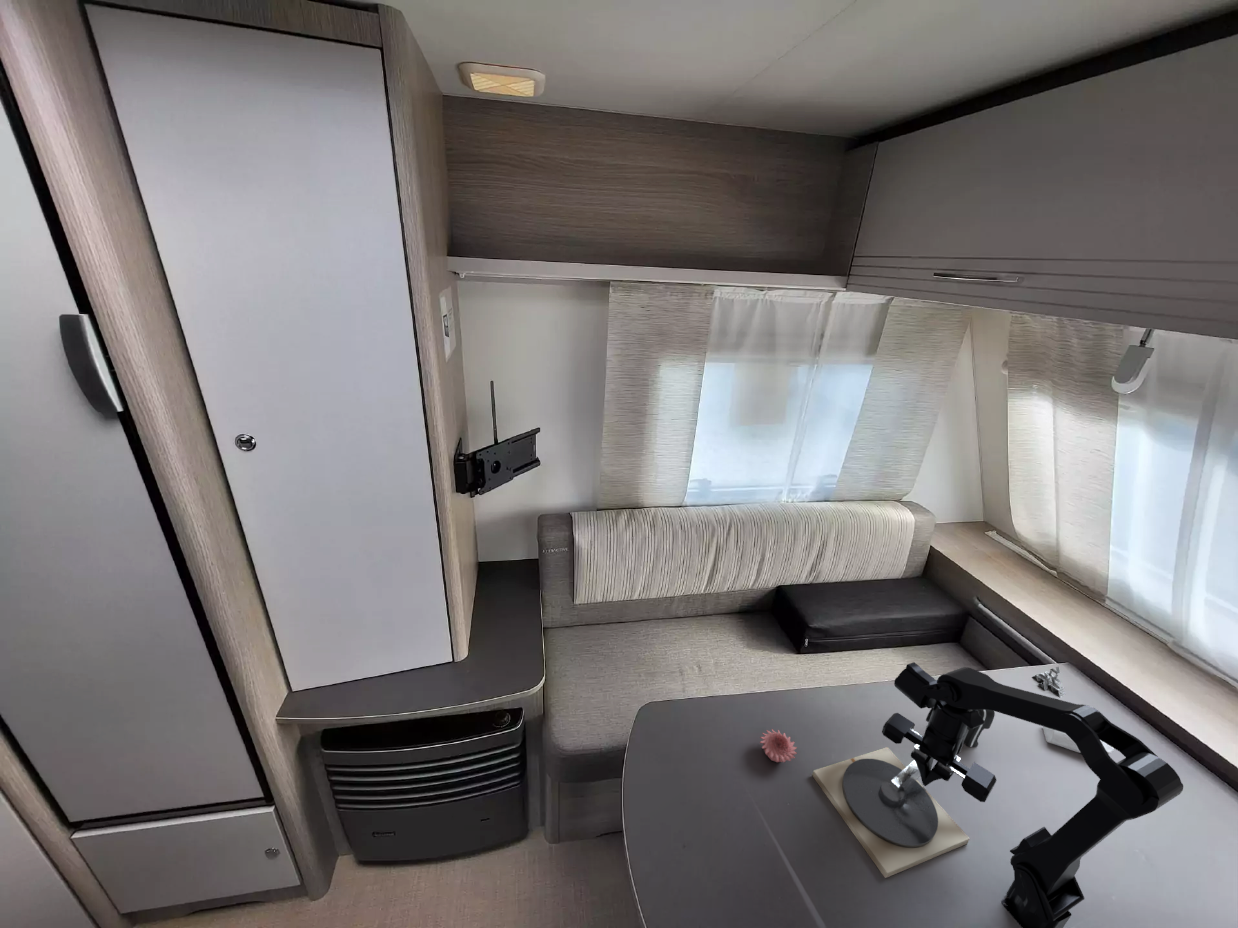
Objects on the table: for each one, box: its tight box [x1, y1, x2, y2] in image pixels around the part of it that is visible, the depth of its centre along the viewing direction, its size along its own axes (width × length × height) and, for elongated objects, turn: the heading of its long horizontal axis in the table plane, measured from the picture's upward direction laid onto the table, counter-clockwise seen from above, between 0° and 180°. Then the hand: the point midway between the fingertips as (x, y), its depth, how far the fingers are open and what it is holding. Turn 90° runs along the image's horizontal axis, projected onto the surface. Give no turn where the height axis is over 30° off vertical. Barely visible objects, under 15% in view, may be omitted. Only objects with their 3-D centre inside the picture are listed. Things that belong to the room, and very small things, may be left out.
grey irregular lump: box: [1035, 665, 1066, 698], centre depth 133 cm, size 9×9×8 cm
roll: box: [1042, 726, 1115, 755], centre depth 116 cm, size 6×12×6 cm, turn 63°
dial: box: [842, 759, 938, 848], centre depth 101 cm, size 19×17×5 cm
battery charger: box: [964, 710, 996, 748], centre depth 117 cm, size 7×4×11 cm, turn 0°
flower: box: [759, 728, 798, 763], centre depth 110 cm, size 8×8×6 cm
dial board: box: [811, 746, 971, 879], centre depth 101 cm, size 20×20×2 cm
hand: (925, 784), depth 102 cm, fingers closed
